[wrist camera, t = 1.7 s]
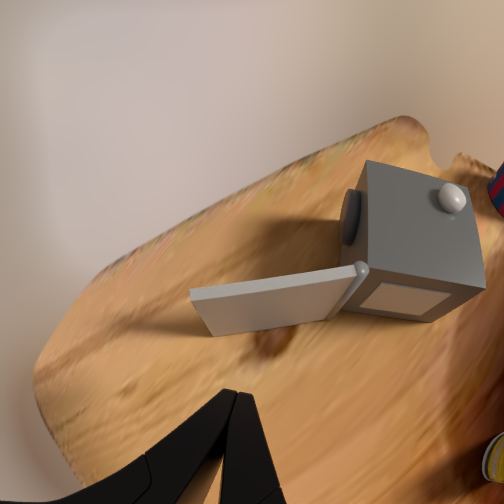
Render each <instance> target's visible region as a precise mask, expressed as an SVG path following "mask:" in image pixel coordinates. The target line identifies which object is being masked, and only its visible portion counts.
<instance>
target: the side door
mask: <svg viewBox="0 0 504 504" xmlns="http://www.w3.org/2000/svg"><path fill="white" fill-rule="evenodd" d="M368 274H369V267H368V265H367V264H366V263H365V262H363V261H357V262H355V263H354V264H353V265H349V266H343V267H337V268H331V269H324V270H318V271H312V272H305V273H299V274H292V275H286V276H279V277H272V278H266V279H259V280H252V281H245V282H238V283H231V284H223V285H216V286H209V287H201V288H194V289H190V300H191V303H192V304H193V306H194V307H195V309H196V311H197V312H198V314H199V315H200V317H201V318H202V320H203V321H204V323H205V325H206V326H207V328H208V329H209V331H210V332H211V334H212V335H213V337H216V336H223V335H231V334H238V333H246V332H253V331H259V330H266V329H272V328H278V327H284V326H290V325H296V324H302V323H307V322H313V321H318V320H323V319H324V320H327V321H329V320H331V319H332V318H333V317H334V316H335V315H336V314H337V312H338V311H339V310H340V309H341V308H342V306H343V305H344V304H345V303H346V301H347V300H348V299H349V298H350V297H351V295H352V294H353V293H354V292H355V290H356V289H357V288H358V287H359V285H360V284H361V283H362V282H363V280H364V279H365V278H366V276H367V275H368Z"/></svg>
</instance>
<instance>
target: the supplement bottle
mask: <svg viewBox="0 0 504 504" xmlns="http://www.w3.org/2000/svg"><path fill="white" fill-rule="evenodd" d="M482 472H483V475H484V477H485V478H486V479H487V480H489V481H493V482H500V483H504V432H503V433H501V434H499V435H498V436H496V437H495V438H494V439H493V440H492V441H491V443H490V444H489V446H488V447H487V449H486V451H485V454H484V457H483V461H482Z"/></svg>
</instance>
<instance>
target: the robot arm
mask: <svg viewBox="0 0 504 504" xmlns="http://www.w3.org/2000/svg"><path fill="white" fill-rule="evenodd" d="M223 456H224V457H223ZM222 459H223V464H222V473H221V482H220V491H219V501H218V504H287V503H286V501H285V498H284V495H283V492H282V489H281V487H280V483H279V480H278V477H277V474H276V470H275V467H274V464H273V461H272V457H271V454H270V451H269V448H268V444H267V441H266V438H265V434H264V431H263V428H262V424H261V421H260V418H259V414H258V411H257V407H256V404H255V400H254V397H253V395H252V394H249V393H244V392H239V393H237V391H234V390H230V389H222V390H221V391H220V392H219V393H218V394H216V395H215V396H214V397H213V398H212V399H211V400H209V401H208V402H207V403H206V404H205V405H204V406H202V407H201V408H200V409H199V410H198V411H196V412H195V413H194V414H193V415H192V416H190V417H189V418H188V419H187V420H185V421H184V422H183V423H182V424H181V425H179V426H178V427H177V428H176V429H174V430H173V431H172V432H171V433H169V434H168V435H167V436H166V437H164V438H163V439H162V440H160V441H159V442H158V443H157V444H155V445H154V446H153V447H151V448H150V449H149V450H147V451H146V452H145V455H144V454H142V455H141V456H139V457H138V458H137V459H135V460H134V461H132V462H131V463H130V464H128V465H127V466H125V467H124V468H122V469H121V470H119V471H117V472H116V473H114V474H112V475H110V476H108V477H106V478H105V479H103V480H101V481H99V482H97V483H95V484H93V485H91V486H88V487H86V488H84V489H82V490H80V491H78V492H76V493H73V494H71V495H69V496H67V497H64V498H61V499H58V500H54V501H50V502H14V501H0V504H203V503H204V501H205V498H206V496H207V494H208V492H209V490H210V487H211V485H212V483H213V481H214V478H215V476H216V474H217V471H218V469H219V467H220V464H221V462H222Z"/></svg>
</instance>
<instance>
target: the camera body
mask: <svg viewBox="0 0 504 504" xmlns="http://www.w3.org/2000/svg"><path fill="white" fill-rule="evenodd" d="M338 241H339V244H341V256H340V267H343V266H349V265H353V264H354V263H355V262H357V261H363V262H365V263H366V264H367V265H368V267H369V274H368V275H367V276H366V278H365V279H364V280H363V282H362V283H361V284H360V285H359V287H358V288H357V289H356V290H355V292H354V293H353V294H352V295H351V297H350V298H349V299H348V300H347V301H346V303H345V304H344V305H343V306H342V308H341V309H340V310H343V311H349V312H356V313H363V314H370V315H377V316H384V317H391V318H398V319H406V320H414V321H422V322H430V323H432V322H434V321H435V320H437V319H439V318H440V317H442V316H444V315H446V314H447V313H449V312H451V311H452V310H454V309H455V308H457V307H459V306H460V305H462V304H463V303H465V302H467V301H468V300H470V299H471V298H473V297H474V296H476V295H477V294H479V293H480V292H482V291H483V290H485V289H486V281H485V272H484V265H483V258H482V252H481V245H480V240H479V234H478V229H477V224H476V220H475V215H474V211H473V206H472V202H471V198H470V194H469V190H468V187H465V186H462V185H458V184H455V183H452V182H449V181H446V180H442V179H439V178H436V177H432V176H429V175H425V174H422V173H418V172H414V171H411V170H407V169H403V168H399V167H395V166H391V165H387V164H383V163H379V162H374V161H370V160H366V162H365V165H364V168H363V170H362V173H361V175H360V178H359V181H358V183H357V186H356V188H355V190H353V189H348V190H347V192H346V194H345V197H344V201H343V205H342V209H341V215H340V221H339V231H338Z"/></svg>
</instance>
